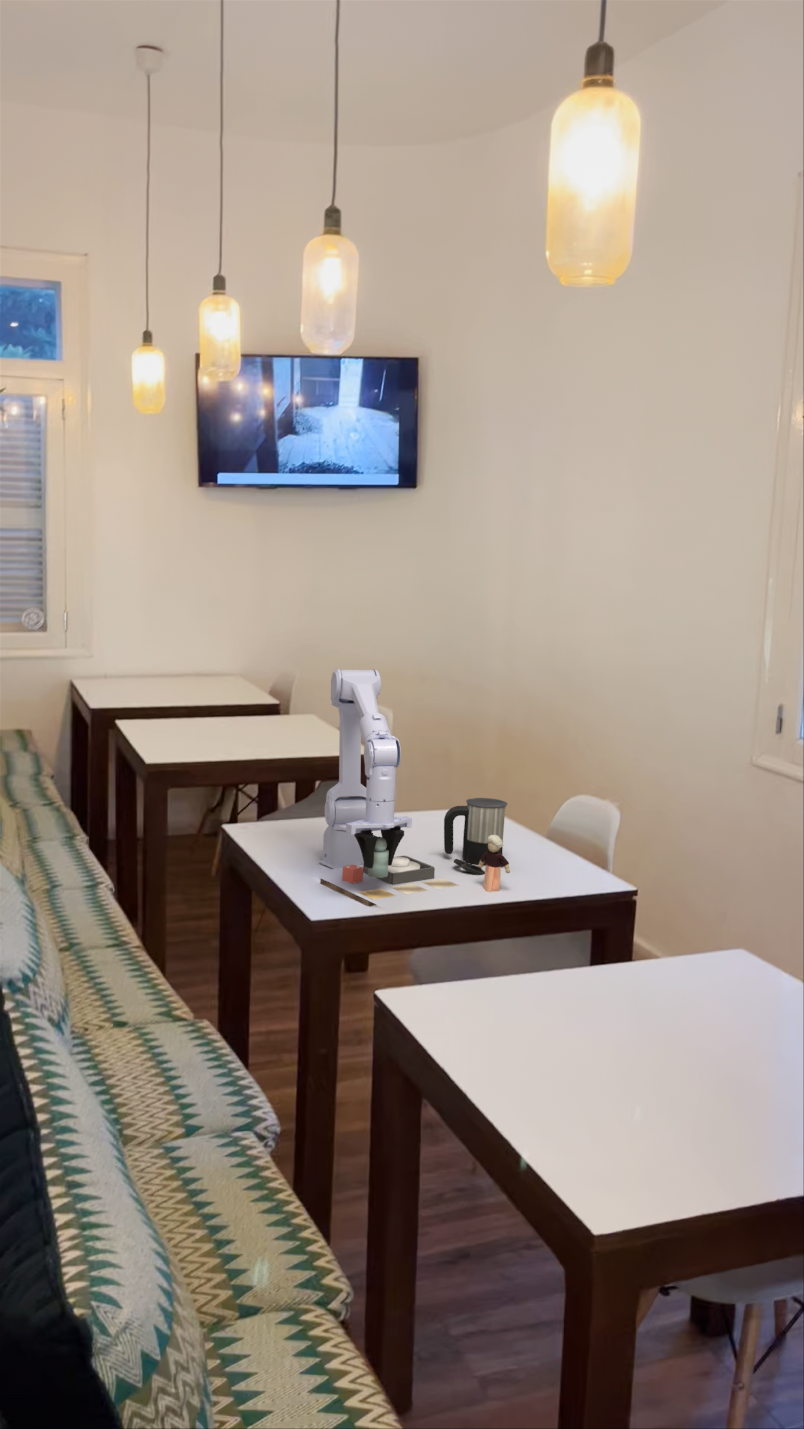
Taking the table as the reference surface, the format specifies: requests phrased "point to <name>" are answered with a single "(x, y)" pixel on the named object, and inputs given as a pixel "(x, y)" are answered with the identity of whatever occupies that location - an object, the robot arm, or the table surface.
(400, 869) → the white stepped disc
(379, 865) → the pawn
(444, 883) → the flat thin brownish pieces
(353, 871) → the die
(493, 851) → the grandmother figurine
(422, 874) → the dark grey square tray
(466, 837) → the milk frother
